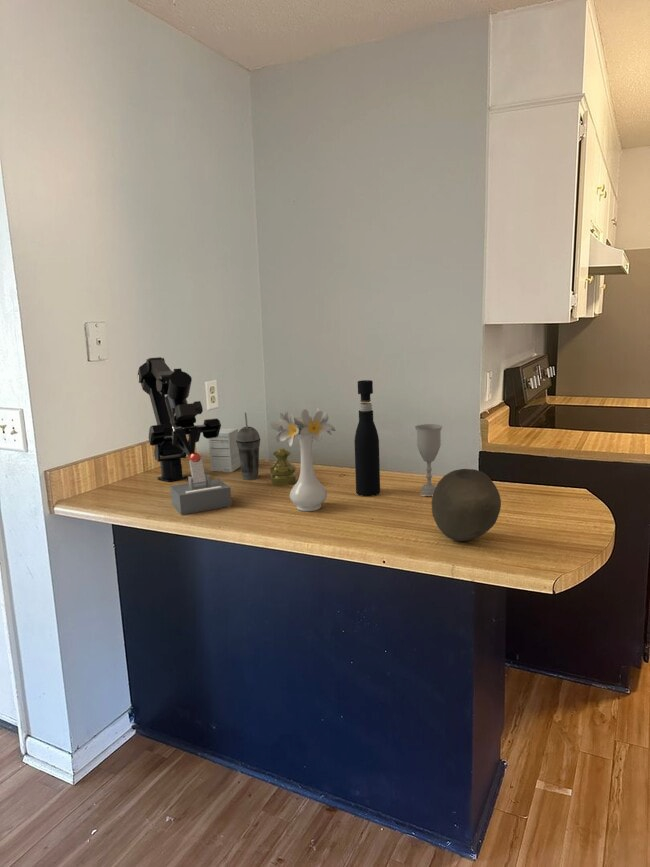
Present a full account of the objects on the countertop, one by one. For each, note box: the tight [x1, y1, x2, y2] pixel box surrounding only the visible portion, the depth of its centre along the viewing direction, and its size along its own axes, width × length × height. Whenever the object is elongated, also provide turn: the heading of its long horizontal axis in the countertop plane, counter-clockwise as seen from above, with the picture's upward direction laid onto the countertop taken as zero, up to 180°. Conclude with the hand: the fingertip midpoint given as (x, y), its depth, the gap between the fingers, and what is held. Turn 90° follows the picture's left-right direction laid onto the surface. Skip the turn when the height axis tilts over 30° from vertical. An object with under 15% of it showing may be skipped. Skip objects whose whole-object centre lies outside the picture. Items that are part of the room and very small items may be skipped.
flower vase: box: [269, 407, 336, 512], centre depth 155 cm, size 13×18×25 cm
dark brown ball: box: [431, 468, 502, 542], centre depth 130 cm, size 14×14×15 cm
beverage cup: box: [236, 412, 261, 481], centre depth 186 cm, size 7×7×20 cm
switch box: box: [169, 473, 232, 516], centre depth 162 cm, size 10×13×8 cm
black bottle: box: [354, 379, 381, 497], centre depth 165 cm, size 6×6×30 cm
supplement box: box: [208, 427, 241, 473], centre depth 199 cm, size 7×7×13 cm
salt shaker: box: [269, 447, 297, 486], centre depth 181 cm, size 7×7×10 cm
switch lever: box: [188, 452, 206, 484], centre depth 162 cm, size 3×3×8 cm
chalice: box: [414, 423, 443, 496], centre depth 163 cm, size 7×7×18 cm
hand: (192, 457), depth 165 cm, fingers closed
